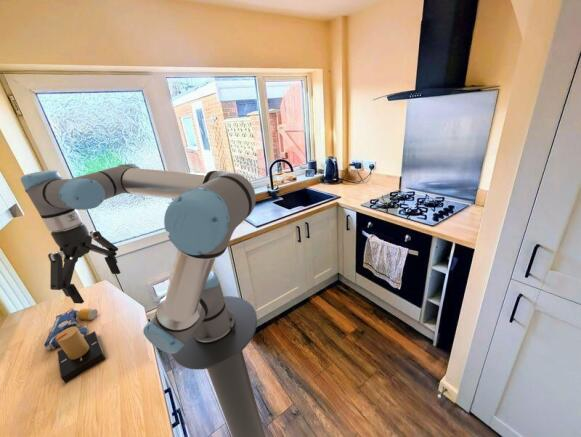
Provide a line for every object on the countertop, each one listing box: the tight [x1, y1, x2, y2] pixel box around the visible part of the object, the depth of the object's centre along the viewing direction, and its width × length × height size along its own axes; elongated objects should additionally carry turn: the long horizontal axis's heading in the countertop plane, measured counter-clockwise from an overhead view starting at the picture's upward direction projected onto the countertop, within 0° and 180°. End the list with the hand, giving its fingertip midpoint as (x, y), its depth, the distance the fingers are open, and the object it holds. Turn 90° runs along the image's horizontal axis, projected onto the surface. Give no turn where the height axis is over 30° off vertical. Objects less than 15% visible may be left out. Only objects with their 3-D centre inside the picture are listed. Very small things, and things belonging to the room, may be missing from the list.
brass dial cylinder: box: [56, 326, 89, 360], centre depth 82 cm, size 6×6×9 cm
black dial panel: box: [57, 330, 107, 384], centre depth 85 cm, size 14×11×3 cm
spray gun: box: [44, 308, 99, 351], centre depth 98 cm, size 21×4×15 cm
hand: (99, 286), depth 77 cm, fingers open, 13 cm apart
